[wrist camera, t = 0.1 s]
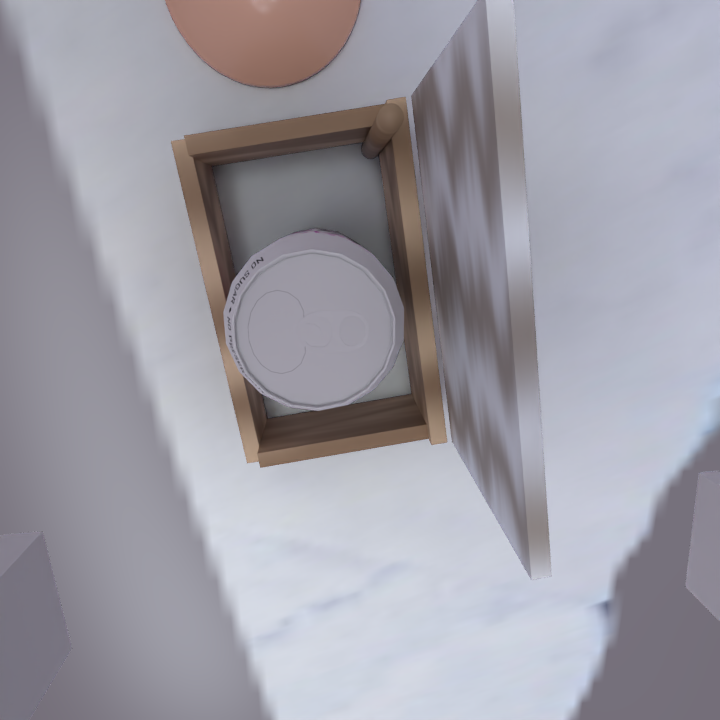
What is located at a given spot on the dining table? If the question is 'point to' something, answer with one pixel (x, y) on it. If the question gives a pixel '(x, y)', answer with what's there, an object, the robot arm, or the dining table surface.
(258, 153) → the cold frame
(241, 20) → the saucer
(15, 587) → the robot arm
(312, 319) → the supplement can
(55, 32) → the dining table surface
